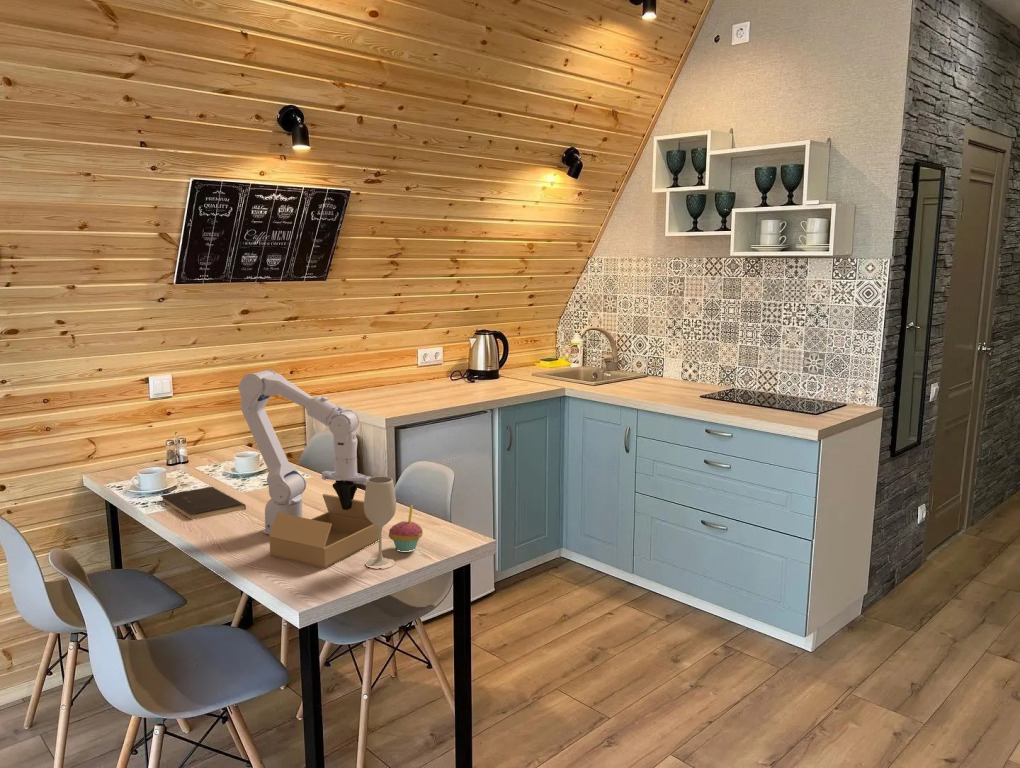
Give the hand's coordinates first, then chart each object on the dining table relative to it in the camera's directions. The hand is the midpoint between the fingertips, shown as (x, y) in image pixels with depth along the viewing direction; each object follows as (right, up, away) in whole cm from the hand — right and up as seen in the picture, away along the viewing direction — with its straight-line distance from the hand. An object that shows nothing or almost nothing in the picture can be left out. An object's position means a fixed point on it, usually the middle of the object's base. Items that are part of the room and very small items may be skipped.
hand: (347, 508), depth 203 cm
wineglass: (+11, -11, -15) cm, 22 cm away
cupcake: (+16, -10, -5) cm, 19 cm away
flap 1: (-8, -3, -15) cm, 17 cm away
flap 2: (0, 0, +2) cm, 2 cm away
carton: (-4, -9, -6) cm, 11 cm away
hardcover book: (-48, -4, +27) cm, 55 cm away
